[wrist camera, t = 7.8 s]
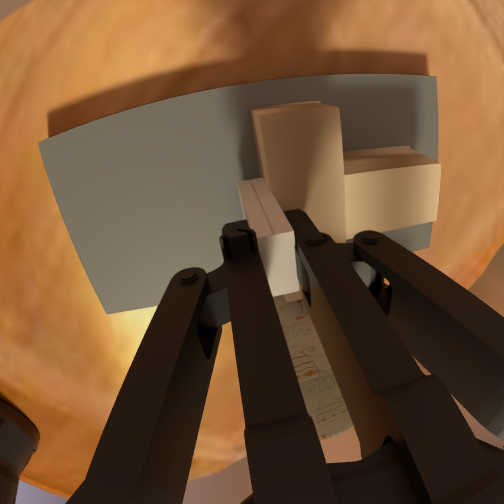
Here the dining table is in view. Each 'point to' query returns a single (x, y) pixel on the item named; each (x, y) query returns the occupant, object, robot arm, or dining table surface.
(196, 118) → the board
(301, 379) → the mug
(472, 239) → the dining table surface
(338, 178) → the t block
